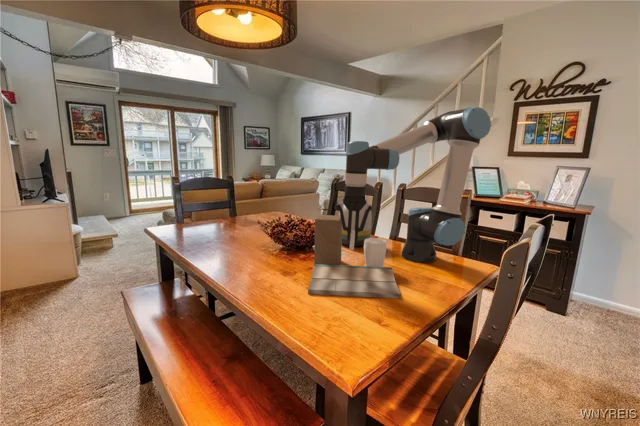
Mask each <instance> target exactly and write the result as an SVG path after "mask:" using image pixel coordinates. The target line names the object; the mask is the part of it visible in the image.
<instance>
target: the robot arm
mask: <svg viewBox="0 0 640 426" xmlns="http://www.w3.org/2000/svg"><path fill="white" fill-rule="evenodd" d="M491 121H492V119H491V117H490V116H489V113H488V112H487V110H486V109H485V108H483V107H479V106H474V107H473V106H472V107H467V108H463V109H457V110H456V109H455V110H450V111H447V112H445V113H442V114H440V115H438V116H436V117H434V118H432V119H429V120H427V121H425V122H423V123H422V125H421V126H418V127H416V128H414V129H411V130H408V131H406V132H403V133H401V134H399V135H395V136H393V137H391V138H389V139H386V140H383V141H382V142H378V143H375V144H374V145H371V146H370V143H369V142H368V141H363V140H362V141H361V140H350V141H348V142H347V146H346V153H345V154H346V155H345V156H346V159H345V161H346V162H345V163H346V164H345V178H344V180H345V181H344V184H345V186H344V197H343V199H342V201H341V202H339V203H337V204H336V208H337V209H338V212H339V211H340V216H341V221H342V227H343V230H345V231H347V240H349V241H350V246H349V250H350V251H354V250H355V246H354V241H357V240H358V232H360V231H363V229H364V226H365V223H366V220H367V217H368V214H369V211H370V210H371V211H372V209H373V207H372V205H371V204H369V203H368V202H367V199H366V192H367V188H366V185H367V178H368V170H387V171H389V170H390V171H392V170H395V169H397V168H398V166H399V164H400V155H401V154H405V153H407V152H409V151H412V150H414V149H417V148H419V147H421V146H424V145H426V144H430V145H431V144H435V143H438V142H442V141H446V142H447V143H448V145H449V150H448V153H447V159H446V163H445V167H444V172H443V177H442V180H441V184H440V188H439V194H438V196H437V197H438V198H437V202H436V205H434V206H433V207H411V208H410V209H409V210H408V214H407V230H406V240H405V243H404V245H403V246H402V250H401V257H403V259H405V260H408V261H411V262H415V263H417V262H418V263H432V262H435V261H436V260H437V252H436V248H435V243H434V242H436V243H437V244H439V245H443V246H445V247H446V246H453V245H455V244H457V243H459V242H460V241H461V240H462V239H463V237H464V235H465V232H466V225H465V222H464V221H463V220H462V215H463V214H462V211H460V206H461V203H462V198H463V194H464V191H465V187H466V182H467V177H468V173H469V170H470V165H471V161H472V157H473V153H474V150H475V149H476V148H478V147H479V146H480V142H481V139H484V138H485V137H486V136H488V134H489V132H490V131H491V127H492V123H491ZM343 205H345V206H346V208H347V209H348V210H349V214H348V227H346V224H345V219H344V214H343V209H342V208H343ZM364 206H365V209H366V210H365V212H364V215H363V218H362V222H361V225H360V227H359V212H360V210H361V209H362V208H363V207H364ZM352 211H356V214H355V231H351V224H352ZM358 227H359V228H358Z"/></svg>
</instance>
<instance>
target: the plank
mask: <svg viewBox="0 0 640 426" xmlns="http://www.w3.org/2000/svg"><path fill="white" fill-rule="evenodd" d="M312 266H313V267H312V271H311V278H310V280H311V279H329V280H351V281H372V282H394V283H396V280H395V274H394V271H393V267H391V266H390V267H388V266H383V267H368V266H365V265H362V266H361V265H342V264H341V265H340V264H339V265H322V264H314V263H313V265H312Z"/></svg>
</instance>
